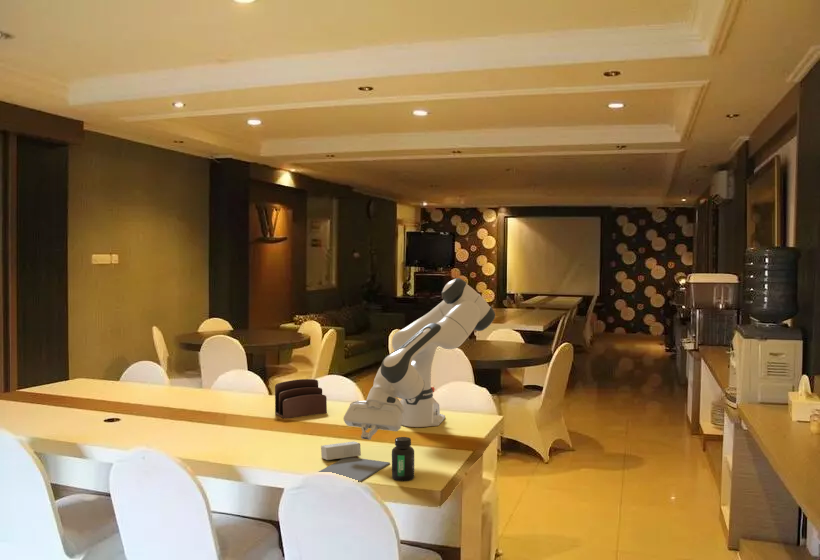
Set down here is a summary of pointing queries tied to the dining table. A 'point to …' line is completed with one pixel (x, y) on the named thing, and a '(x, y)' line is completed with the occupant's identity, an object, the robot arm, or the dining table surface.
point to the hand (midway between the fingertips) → (365, 438)
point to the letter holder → (299, 398)
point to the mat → (356, 467)
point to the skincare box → (340, 450)
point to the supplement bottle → (402, 460)
